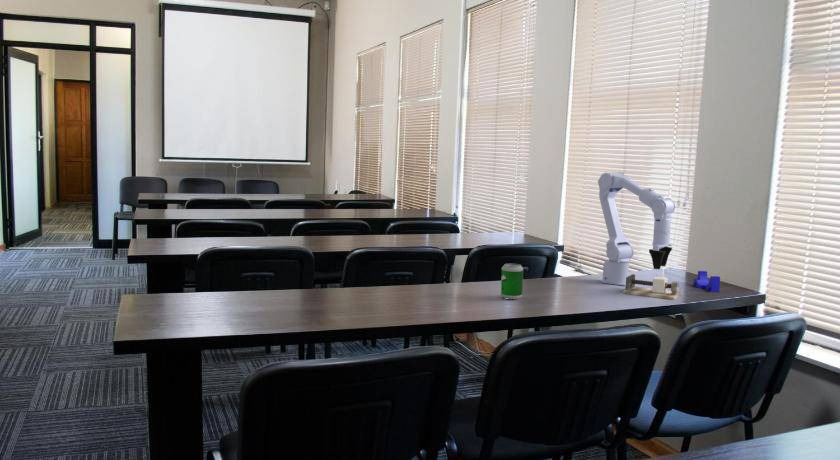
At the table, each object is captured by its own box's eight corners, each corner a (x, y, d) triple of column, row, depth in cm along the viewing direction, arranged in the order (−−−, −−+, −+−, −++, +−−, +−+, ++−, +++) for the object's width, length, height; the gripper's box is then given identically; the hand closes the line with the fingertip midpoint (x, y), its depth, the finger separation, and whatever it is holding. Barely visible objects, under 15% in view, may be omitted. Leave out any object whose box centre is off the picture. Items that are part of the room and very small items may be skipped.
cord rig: (623, 293, 242) (624, 277, 241) (631, 288, 250) (631, 273, 249) (674, 299, 232) (675, 283, 231) (680, 294, 240) (681, 279, 239)
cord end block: (652, 291, 238) (653, 278, 237) (655, 289, 242) (656, 276, 242) (663, 293, 236) (664, 279, 235) (667, 291, 240) (667, 277, 239)
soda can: (524, 297, 234) (525, 264, 232) (518, 301, 227) (519, 267, 225) (504, 295, 237) (505, 262, 235) (498, 299, 230) (498, 265, 228)
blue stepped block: (693, 285, 257) (694, 270, 256) (704, 285, 257) (705, 270, 256) (707, 292, 245) (708, 276, 244) (719, 292, 245) (720, 276, 245)
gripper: (668, 234, 233) (665, 271, 235) (678, 230, 245) (675, 265, 247) (647, 232, 237) (645, 269, 239) (658, 228, 249) (656, 263, 251)
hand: (659, 267), depth 243 cm, fingers open, 7 cm apart
